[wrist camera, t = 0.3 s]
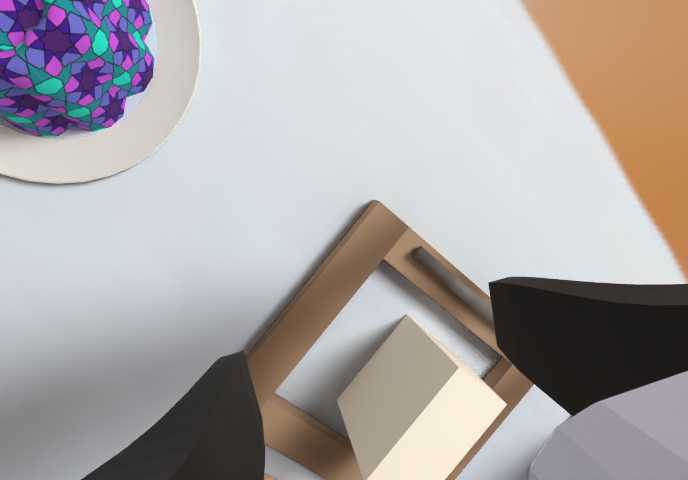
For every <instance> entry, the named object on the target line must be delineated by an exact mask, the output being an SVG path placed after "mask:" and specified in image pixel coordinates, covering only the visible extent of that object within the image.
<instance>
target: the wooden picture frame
mask: <svg viewBox="0 0 688 480" xmlns="http://www.w3.org/2000/svg"><path fill="white" fill-rule="evenodd" d="M383 259H384V260H385V261H386V262H388V263H389V264H390V265H391V266H393V267H394V268H395V269H396V270H397V271H399V272H400V273H401V274H402V275H404V276H405V277H406V278H407V279H408V280H410V281H411V282H412V283H413V284H414V285H416V286H417V287H418V288H419V289H421V290H422V291H423V292H424V293H425V294H427V295H428V296H429V297H430V298H432V299H433V300H434V301H435V302H436V303H438V304H439V305H440V306H441V307H443V308H444V309H445V310H446V311H447V312H449V313H450V314H451V315H452V316H454V317H455V318H456V319H457V320H458V321H460V322H461V323H462V324H463V325H464V326H466V327H467V328H468V329H469V330H471V331H472V332H473V333H474V334H475V335H477V336H478V337H479V338H480V339H482V340H483V341H484V342H485V343H486V344H488V345H489V346H490V347H491V348H493V349H494V350H495V351H496V352H497V353H499V354H500V355H501V356H502V358H501V359H500V360H499V361H498V362H497V364H496V365H495V366H494V367H493V368H492V370H491V371H490V372H489V373H488V375H487V376H486V377H485V378H484V379H483V381H484V382H485V383H486V384H487V385H488V386H489V387H490V388H491V389H492V390H493V391H494V392H495V393H496V394H497V395H498V396H499V397H500V398H501V399H502V400H503V401H504V402H505V403H506V404H507V405H506V406H505V408H504V409H503V410H502V411H501V413H500V414H499V415H498V416H497V417H496V419H495V420H494V421H493V422H492V423H491V425H490V426H489V427H488V428H487V429H486V431H485V432H484V433H483V434H482V436H481V437H480V438H479V439H478V440H477V442H476V443H475V444H474V445H473V446H472V448H471V449H470V450H469V451H468V452H467V454H466V455H465V456H464V457H463V458H462V460H461V461H460V462H459V463H458V465H457V466H456V467H455V468H454V469H453V471H452V472H451V473H450V474H449V475H448V477H447V478H446V479H445V480H455V479H456V478H457V476H458V475H459V474H460V473H461V472H462V470H463V469H464V468H465V467H466V466H467V464H468V463H469V462H470V461H471V460H472V458H473V457H474V456H475V455H476V454H477V452H478V451H479V450H480V449H481V447H482V446H483V445H484V444H485V443H486V441H487V440H488V439H489V438H490V437H491V435H492V434H493V433H494V432H495V431H496V429H497V428H498V427H499V426H500V425H501V423H502V422H503V421H504V420H505V418H506V417H507V416H508V415H509V414H510V412H511V411H512V410H513V409H514V408H515V406H516V405H517V404H518V403H519V402H520V400H521V399H522V398H523V397H524V396H525V394H526V393H527V392H528V391H529V389H530V388H531V387H532V386H533V385H534V383H533V382H531V381H530V380H529V379H528V378H527V377H525V376H524V375H523V374H522V373H521V372H520V371H519V370H518V369H517V368H516V367H515V366H514V365H513V364H512V363H511V362H510V361H509V359H508V358H507V357H506V356H505V355H504V354H503V352H502V351H501V350H500V349H499V348H498V346H497V342H496V335H495V327H494V320H493V312H492V305H491V298H490V297H489V296H488V295H487V294H485V293H484V292H483V291H482V290H481V289H480V288H479V287H477V286H476V285H475V284H474V283H473V282H472V281H470V280H469V279H468V278H467V277H466V276H465V275H464V274H462V273H461V272H460V271H459V270H458V269H457V268H456V267H454V266H453V265H452V264H451V263H450V262H449V261H448V260H446V259H445V258H444V257H443V256H442V255H441V254H439V253H438V252H437V251H436V250H435V249H434V248H433V247H431V246H430V245H429V244H428V243H427V242H426V241H425V240H423V239H422V238H421V237H420V236H419V235H418V234H416V233H415V232H414V231H413V230H412V229H411V228H410V227H408V226H407V225H406V224H405V223H404V222H403V221H402V220H400V219H399V218H398V217H397V216H396V215H395V214H394V213H392V212H391V211H390V210H389V209H388V208H387V207H385V206H384V205H383V204H382V203H381V202H380V201H377V200H373V201H372V203H371V204H370V205H369V206H368V207H367V209H366V210H365V211H364V212H363V214H362V215H361V216H360V217H359V219H358V220H357V221H356V222H355V223H354V225H353V226H352V227H351V228H350V230H349V231H348V232H347V233H346V234H345V236H344V237H343V238H342V239H341V241H340V242H339V243H338V244H337V246H336V247H335V248H334V249H333V250H332V252H331V253H330V254H329V255H328V257H327V258H326V259H325V260H324V261H323V263H322V264H321V265H320V266H319V268H318V269H317V270H316V271H315V273H314V274H313V275H312V276H311V277H310V279H309V280H308V281H307V282H306V284H305V285H304V286H303V287H302V289H301V290H300V291H299V292H298V293H297V295H296V296H295V297H294V298H293V300H292V301H291V302H290V303H289V304H288V306H287V307H286V308H285V309H284V311H283V312H282V313H281V314H280V316H279V317H278V318H277V319H276V320H275V322H274V323H273V324H272V325H271V327H270V328H269V329H268V330H267V331H266V333H265V334H264V335H263V336H262V338H261V339H260V340H259V341H258V343H257V344H256V345H255V346H254V347H253V349H252V350H251V351H250V352H249V354H248V355H247V356H246V357H245V358H246V362H247V365H248V369H249V372H250V376H251V380H252V383H253V387H254V390H255V394H256V397H257V401H258V404H259V408H260V411H261V415H262V419H263V430H264V442H265V444H266V445H268V446H270V447H272V448H273V449H275V450H277V451H278V452H280V453H282V454H284V455H285V456H287V457H289V458H290V459H292V460H294V461H295V462H297V463H299V464H301V465H302V466H304V467H306V468H307V469H309V470H311V471H313V472H314V473H316V474H318V475H319V476H321V477H323V478H325V479H326V480H363V477H362V474H361V471H360V468H359V465H358V462H357V459H356V456H355V453H354V450H353V447H352V444H351V441H349V440H348V439H346V438H345V437H343V436H342V435H340V434H338V433H337V432H335V431H334V430H332V429H330V428H329V427H327V426H326V425H324V424H323V423H321V422H319V421H318V420H316V419H315V418H313V417H312V416H310V415H308V414H307V413H305V412H304V411H302V410H300V409H299V408H297V407H296V406H294V405H293V404H291V403H289V402H288V401H286V400H285V399H283V398H281V397H280V396H278V395H277V394H275V393H274V392H275V391H276V389H277V388H278V387H279V386H280V385H281V383H282V382H283V381H284V380H285V378H286V377H287V376H288V375H289V374H290V372H291V371H292V370H293V369H294V367H295V366H296V365H297V364H298V363H299V361H300V360H301V359H302V358H303V356H304V355H305V354H306V353H307V352H308V350H309V349H310V348H311V347H312V345H313V344H314V343H315V342H316V341H317V339H318V338H319V337H320V336H321V334H322V333H323V332H324V331H325V329H326V328H327V327H328V326H329V325H330V323H331V322H332V321H333V320H334V318H335V317H336V316H337V315H338V314H339V312H340V311H341V310H342V309H343V307H344V306H345V305H346V304H347V303H348V301H349V300H350V299H351V298H352V296H353V295H354V294H355V293H356V292H357V290H358V289H359V288H360V287H361V285H362V284H363V283H364V282H365V281H366V279H367V278H368V277H369V276H370V274H371V273H372V272H373V271H374V270H375V268H376V267H377V266H378V265H379V263H380V262H381V261H382V260H383Z"/></svg>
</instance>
